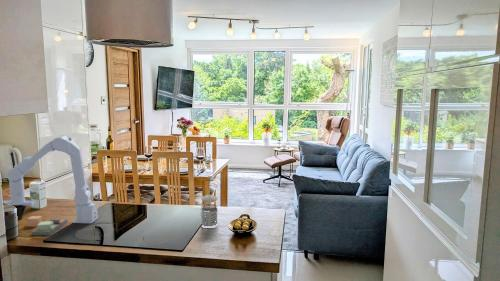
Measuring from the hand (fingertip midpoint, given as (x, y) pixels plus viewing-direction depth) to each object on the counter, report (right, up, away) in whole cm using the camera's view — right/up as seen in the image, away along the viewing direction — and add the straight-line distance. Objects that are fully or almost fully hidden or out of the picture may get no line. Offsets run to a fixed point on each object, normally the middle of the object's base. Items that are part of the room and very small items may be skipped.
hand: (19, 219), depth 170 cm
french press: (+91, -4, +4) cm, 91 cm away
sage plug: (+17, -4, -6) cm, 18 cm away
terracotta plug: (+7, -3, 0) cm, 8 cm away
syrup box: (-6, +1, +25) cm, 26 cm away
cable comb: (+16, -3, -3) cm, 17 cm away
